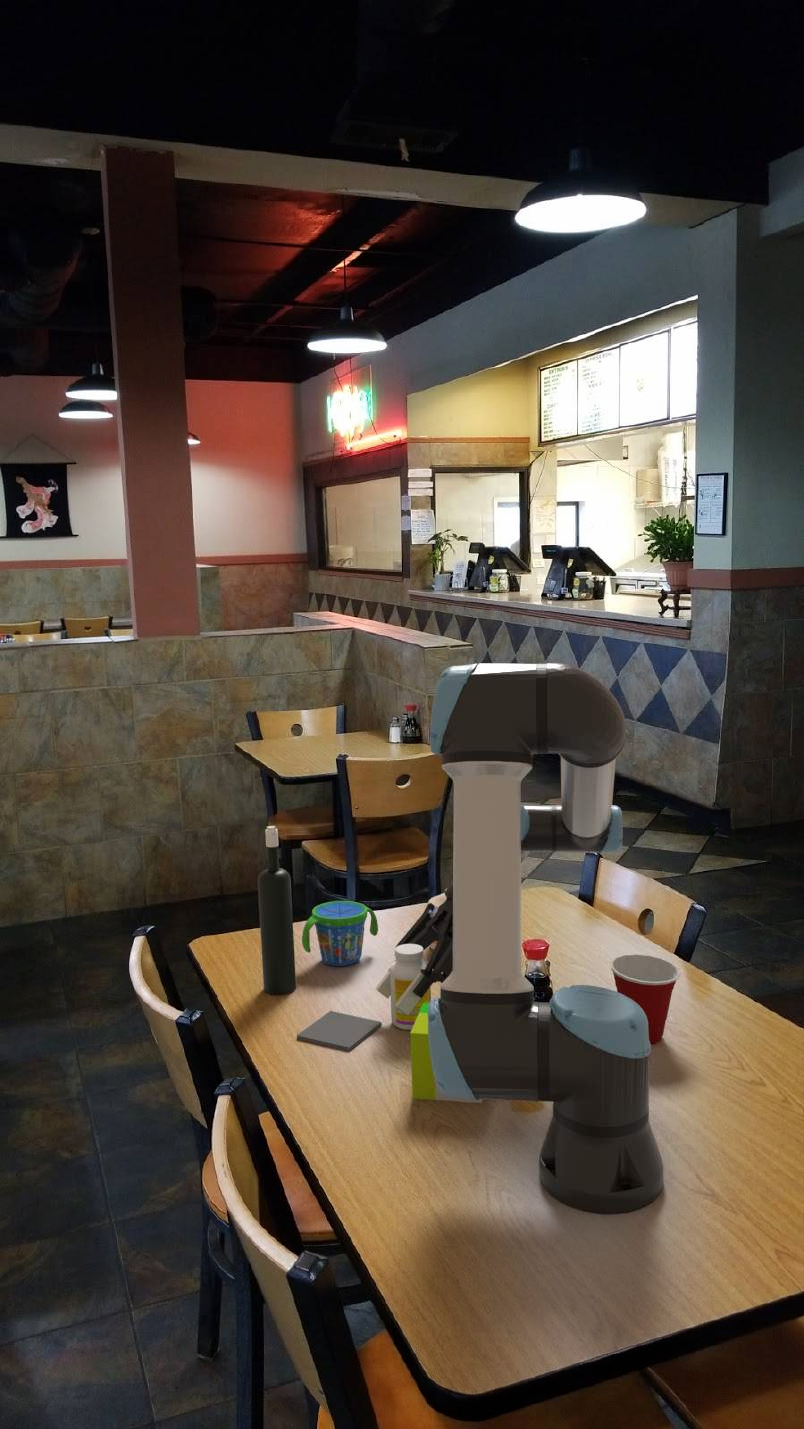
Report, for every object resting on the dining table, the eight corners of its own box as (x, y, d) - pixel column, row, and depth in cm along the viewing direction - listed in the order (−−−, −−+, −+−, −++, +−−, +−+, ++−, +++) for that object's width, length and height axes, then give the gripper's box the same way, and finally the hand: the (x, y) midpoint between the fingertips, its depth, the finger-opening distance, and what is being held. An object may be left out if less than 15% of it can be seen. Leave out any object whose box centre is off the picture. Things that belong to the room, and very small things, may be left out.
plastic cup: (677, 1057, 163) (677, 982, 161) (605, 1048, 167) (605, 975, 165) (682, 1026, 173) (683, 955, 172) (615, 1018, 177) (614, 949, 175)
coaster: (349, 1051, 169) (349, 1047, 169) (296, 1038, 174) (296, 1035, 174) (381, 1025, 178) (381, 1021, 177) (330, 1014, 182) (330, 1010, 182)
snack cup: (366, 943, 214) (364, 894, 212) (390, 960, 205) (388, 909, 203) (293, 959, 207) (290, 908, 205) (314, 978, 198) (311, 925, 196)
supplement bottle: (438, 1026, 176) (435, 952, 174) (400, 1034, 174) (397, 959, 172) (422, 1010, 182) (420, 938, 180) (385, 1018, 180) (382, 945, 178)
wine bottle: (302, 986, 194) (294, 824, 189) (282, 998, 190) (273, 832, 185) (278, 980, 197) (269, 821, 193) (257, 991, 193) (247, 828, 188)
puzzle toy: (482, 1103, 152) (480, 1037, 151) (412, 1098, 154) (410, 1032, 153) (490, 1069, 162) (489, 1006, 160) (425, 1065, 164) (423, 1003, 162)
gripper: (520, 918, 173) (434, 1036, 169) (459, 885, 191) (380, 992, 186) (491, 892, 170) (403, 1012, 166) (432, 861, 187) (351, 969, 183)
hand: (391, 1001), depth 176 cm, fingers closed on supplement bottle, 7 cm apart
